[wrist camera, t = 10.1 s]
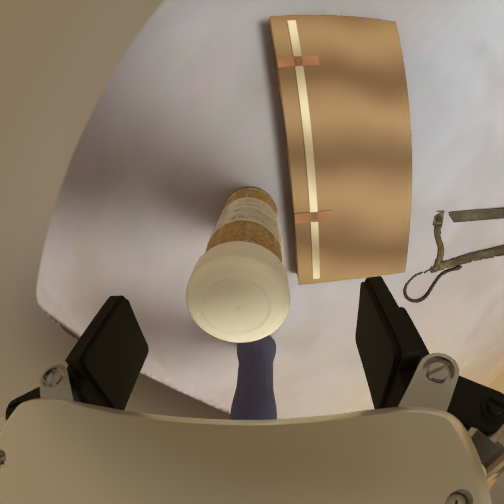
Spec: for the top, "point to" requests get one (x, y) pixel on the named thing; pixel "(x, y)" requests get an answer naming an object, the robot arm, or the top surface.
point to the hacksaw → (478, 255)
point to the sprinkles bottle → (241, 272)
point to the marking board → (345, 144)
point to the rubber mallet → (255, 381)
